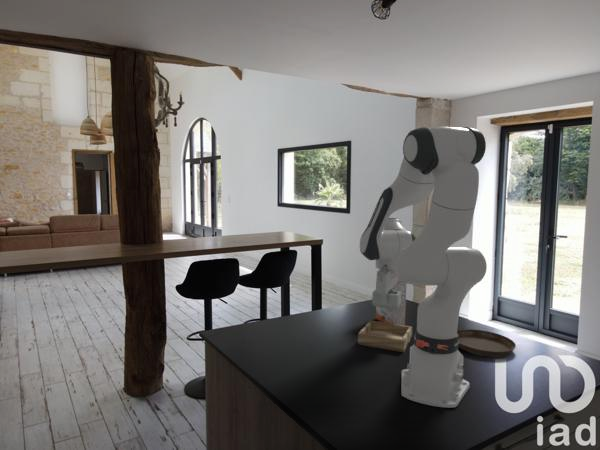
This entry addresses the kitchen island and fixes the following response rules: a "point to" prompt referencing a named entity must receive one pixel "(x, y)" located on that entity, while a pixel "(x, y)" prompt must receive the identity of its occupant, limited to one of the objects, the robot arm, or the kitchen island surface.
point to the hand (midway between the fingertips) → (386, 300)
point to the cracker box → (394, 314)
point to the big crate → (385, 336)
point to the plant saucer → (485, 343)
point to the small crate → (392, 300)
